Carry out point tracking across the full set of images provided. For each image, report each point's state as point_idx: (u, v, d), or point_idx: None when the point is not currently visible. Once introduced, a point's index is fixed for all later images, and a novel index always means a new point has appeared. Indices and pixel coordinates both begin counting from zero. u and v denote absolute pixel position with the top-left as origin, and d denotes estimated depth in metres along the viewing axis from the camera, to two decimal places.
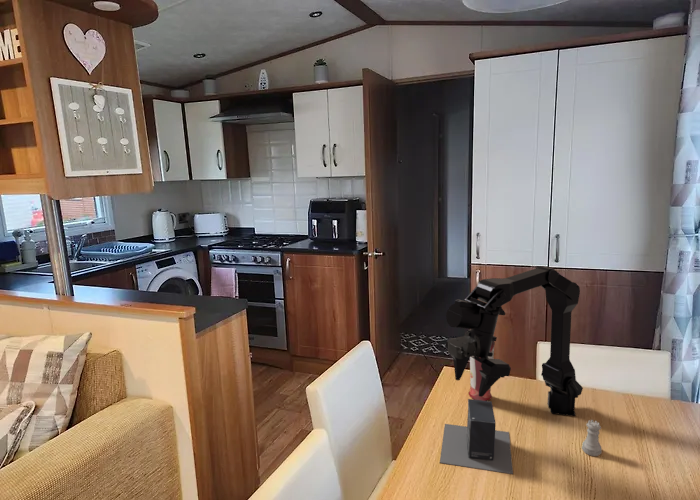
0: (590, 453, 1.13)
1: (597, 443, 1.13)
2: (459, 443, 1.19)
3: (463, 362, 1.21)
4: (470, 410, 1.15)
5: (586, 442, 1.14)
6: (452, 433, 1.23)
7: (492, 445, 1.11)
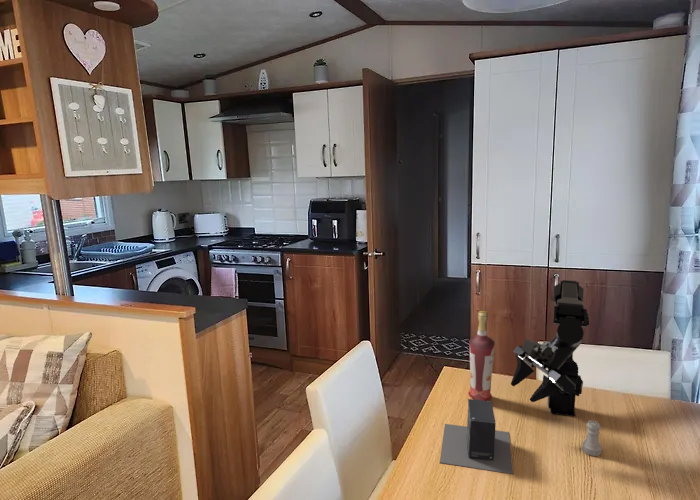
0: (590, 453, 1.13)
1: (597, 443, 1.13)
2: (459, 443, 1.19)
3: (525, 372, 1.22)
4: (470, 410, 1.15)
5: (586, 442, 1.14)
6: (452, 433, 1.23)
7: (492, 445, 1.11)
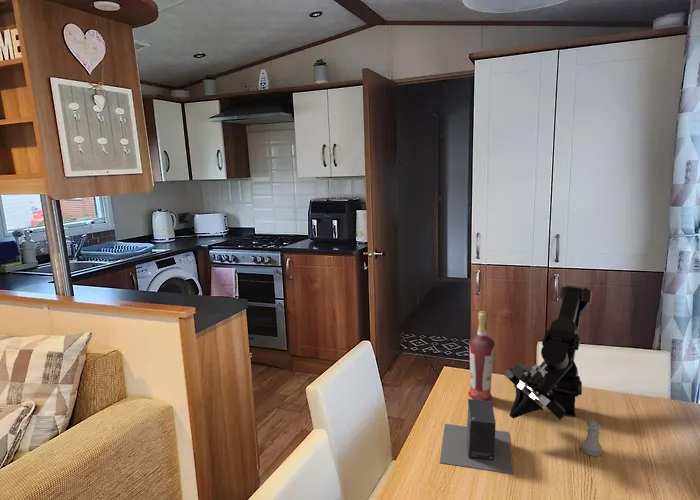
0: (590, 453, 1.13)
1: (597, 443, 1.13)
2: (459, 443, 1.19)
3: None
4: (470, 410, 1.15)
5: (586, 442, 1.14)
6: (452, 433, 1.23)
7: (492, 445, 1.11)
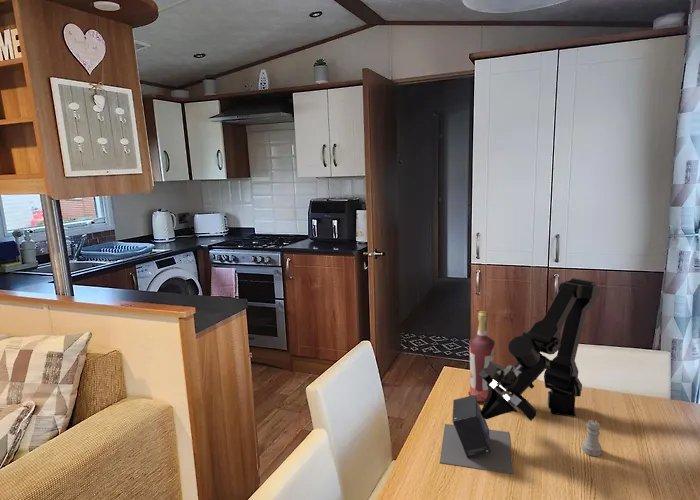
0: (590, 453, 1.13)
1: (597, 443, 1.13)
2: (459, 443, 1.19)
3: None
4: (453, 411, 1.16)
5: (586, 442, 1.14)
6: (452, 433, 1.23)
7: (483, 438, 1.11)
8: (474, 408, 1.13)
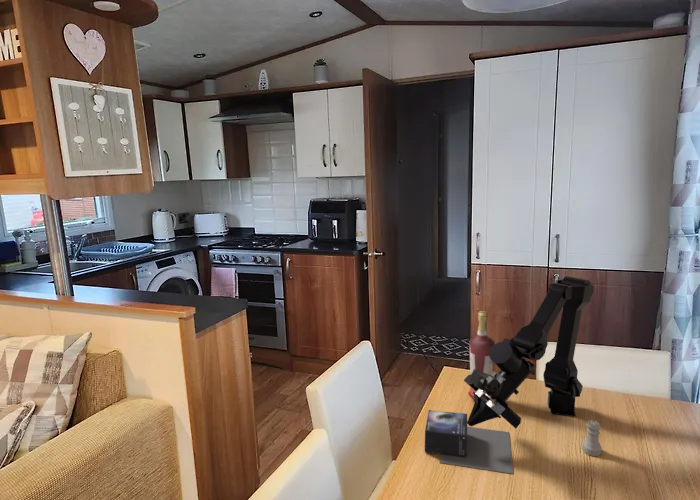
0: (590, 453, 1.13)
1: (597, 443, 1.13)
2: None
3: None
4: None
5: (586, 442, 1.14)
6: None
7: (449, 435, 1.13)
8: (426, 424, 1.18)
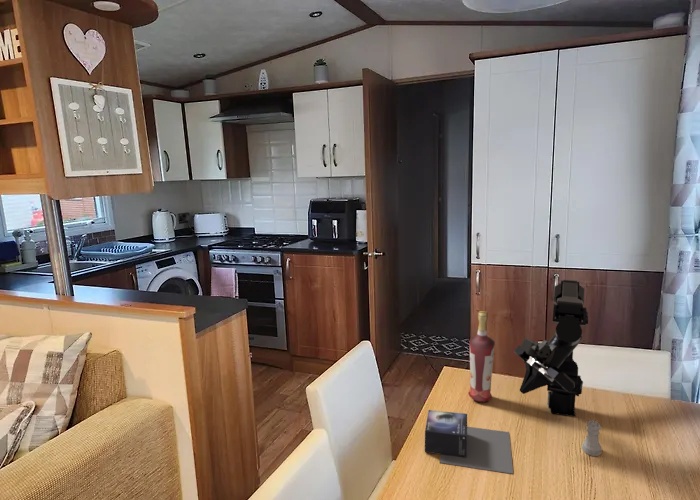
0: (590, 453, 1.13)
1: (597, 443, 1.13)
2: None
3: None
4: None
5: (586, 442, 1.14)
6: None
7: (449, 435, 1.13)
8: (426, 424, 1.18)
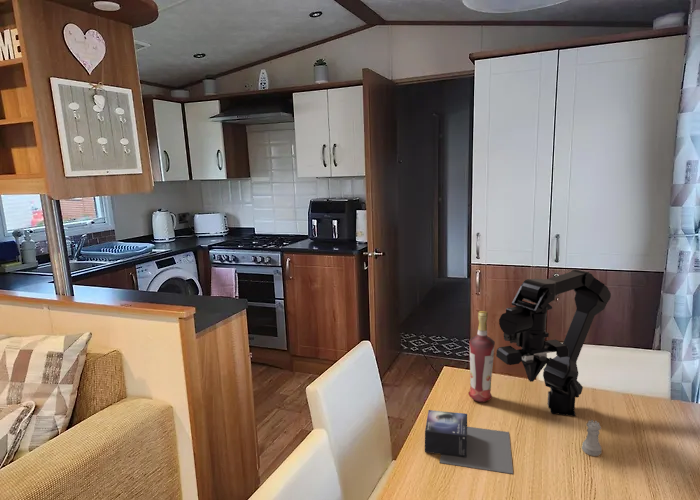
0: (590, 453, 1.13)
1: (597, 443, 1.13)
2: None
3: None
4: None
5: (586, 442, 1.14)
6: None
7: (449, 435, 1.13)
8: (426, 424, 1.18)
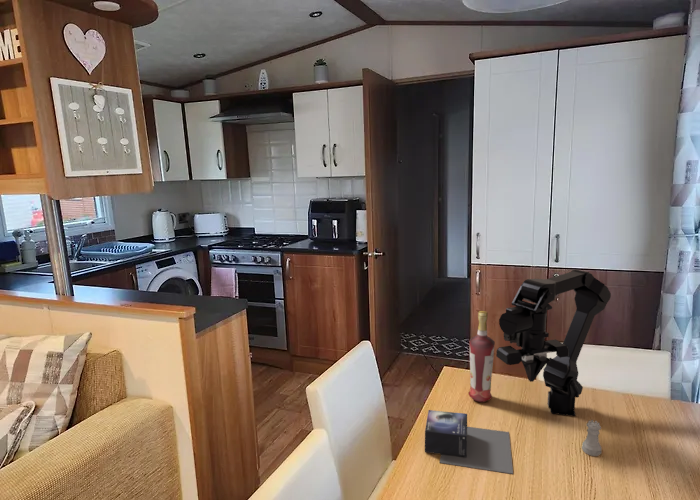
0: (590, 453, 1.13)
1: (597, 443, 1.13)
2: None
3: None
4: None
5: (586, 442, 1.14)
6: None
7: (449, 435, 1.13)
8: (426, 424, 1.18)
